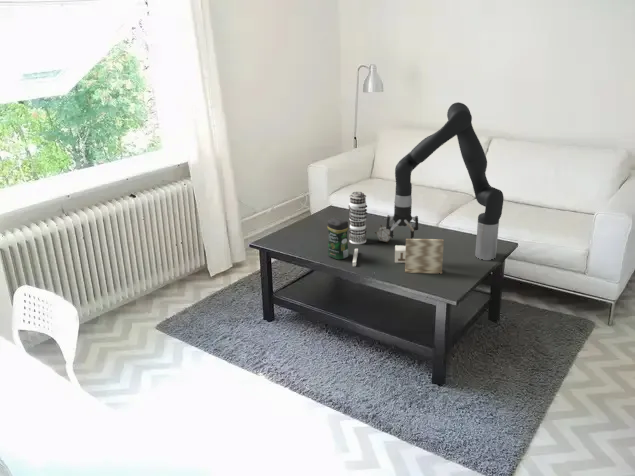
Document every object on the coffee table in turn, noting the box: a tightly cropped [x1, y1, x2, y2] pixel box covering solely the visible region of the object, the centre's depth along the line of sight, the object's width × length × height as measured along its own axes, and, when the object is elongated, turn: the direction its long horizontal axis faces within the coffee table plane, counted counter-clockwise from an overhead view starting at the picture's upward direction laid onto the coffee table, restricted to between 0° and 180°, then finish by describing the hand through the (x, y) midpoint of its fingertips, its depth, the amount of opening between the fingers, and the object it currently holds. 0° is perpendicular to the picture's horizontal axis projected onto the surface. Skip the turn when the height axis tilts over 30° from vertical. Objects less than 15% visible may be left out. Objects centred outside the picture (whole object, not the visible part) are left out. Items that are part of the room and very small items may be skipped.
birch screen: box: [404, 238, 445, 275], centre depth 262 cm, size 16×4×15 cm, turn 83°
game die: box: [374, 224, 395, 244], centre depth 297 cm, size 9×8×10 cm
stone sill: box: [352, 248, 359, 267], centre depth 279 cm, size 16×2×2 cm, turn 173°
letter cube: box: [394, 245, 406, 264], centre depth 276 cm, size 6×6×6 cm
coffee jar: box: [327, 216, 350, 260], centre depth 279 cm, size 10×8×19 cm
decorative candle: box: [348, 191, 368, 245], centre depth 295 cm, size 9×9×25 cm
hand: (401, 238), depth 272 cm, fingers open, 8 cm apart
